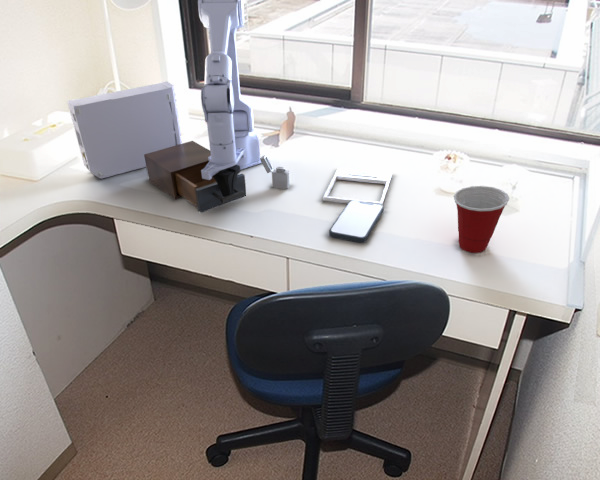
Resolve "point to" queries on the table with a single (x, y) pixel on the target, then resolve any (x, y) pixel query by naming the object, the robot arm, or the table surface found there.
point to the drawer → (205, 189)
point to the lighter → (276, 174)
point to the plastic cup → (478, 215)
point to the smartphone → (356, 221)
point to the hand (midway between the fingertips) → (227, 196)
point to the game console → (125, 127)
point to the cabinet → (174, 164)
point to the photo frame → (362, 177)
